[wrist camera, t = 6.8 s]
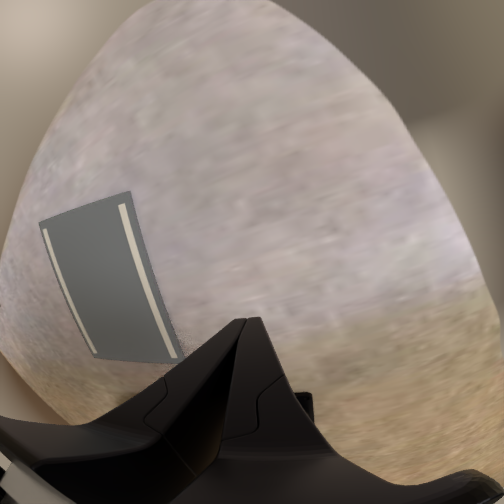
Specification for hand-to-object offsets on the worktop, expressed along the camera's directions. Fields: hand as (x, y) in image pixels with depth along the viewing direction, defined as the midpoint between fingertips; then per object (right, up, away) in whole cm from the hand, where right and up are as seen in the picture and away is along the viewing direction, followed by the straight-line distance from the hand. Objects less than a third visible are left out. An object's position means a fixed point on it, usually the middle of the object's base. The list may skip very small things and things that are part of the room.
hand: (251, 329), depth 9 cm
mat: (-13, -1, +14) cm, 20 cm away
